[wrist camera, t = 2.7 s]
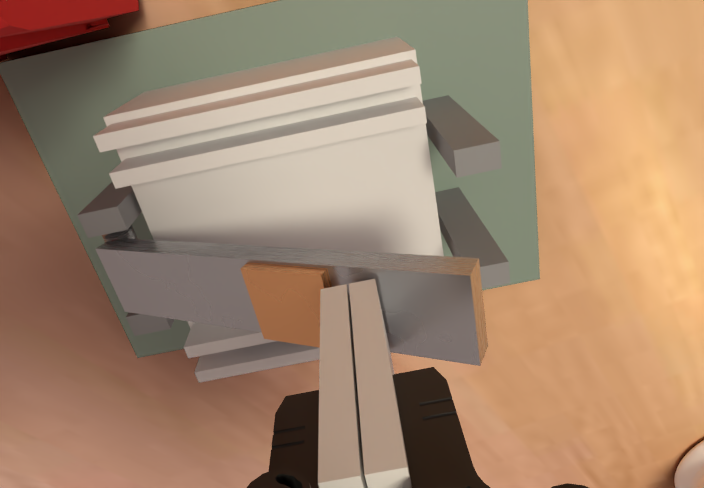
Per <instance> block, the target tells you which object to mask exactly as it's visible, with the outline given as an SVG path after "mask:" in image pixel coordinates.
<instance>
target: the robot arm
mask: <svg viewBox="0 0 704 488" xmlns="http://www.w3.org/2000/svg"><path fill="white" fill-rule="evenodd" d="M349 291H350V297H349V293H348V289H347V284H345V285H340V286H335V287H330V288H325V289H321V293H320V364H319V390H316V391H311V392H306V393H301V394H295V395H290V396H286V397H285V398H284V400H283V402H282V403H281V405H280V407H279V408H278V410H277V412H276V414H275V422H274V431H273V432H274V435H273V440H272V450H271V457H270V466H269V472H267V473H264V474H262V475H261V476H259V477H258V478H257V479H255V480H254V481H252V482H251V483H250V484H249V486H248V487H247V488H490V487H489V486H488V485H486V484H485V483H484V482H483V481H482V480H481V479H480V478H479V476H478V475H477V473H476V471H475V469H474V467H473V464H472V461H471V458H470V454H469V451H468V448H467V445H466V441H465V438H464V435H463V432H462V428H461V425H460V422H459V419H458V416H457V413H456V409H455V406H454V403H453V400H452V396H451V393H450V390H449V386H448V383H447V380H446V379H445V378H444V377H443V376H442V375H441V374H440V373H439V372H438V371H437V370H436V369H435V368H434V367H431V368H426V369H421V370H415V371H410V372H405V373H399V374H394V370H393V364H392V359H391V353H390V348H389V344H388V339H387V334H386V329H385V324H384V320H383V315H382V310H381V305H380V300H379V296H378V291H377V286H376V281H375V279H370V280H365V281H360V282H355V283H350V284H349ZM551 488H588V487H586V486H583V485H575V484H563V485H558V486H553V487H551Z"/></svg>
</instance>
